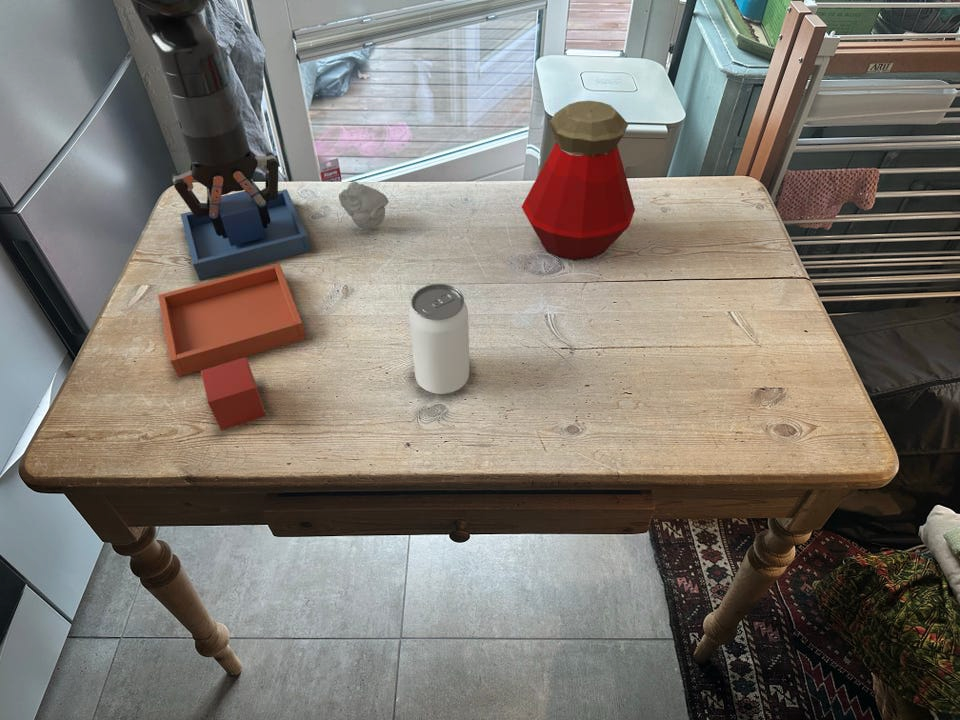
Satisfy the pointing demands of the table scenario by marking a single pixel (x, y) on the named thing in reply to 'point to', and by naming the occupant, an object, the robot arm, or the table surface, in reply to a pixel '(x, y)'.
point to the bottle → (582, 184)
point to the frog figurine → (364, 205)
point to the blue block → (241, 218)
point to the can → (439, 338)
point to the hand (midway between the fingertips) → (244, 229)
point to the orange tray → (229, 319)
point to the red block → (232, 393)
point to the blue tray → (222, 258)
